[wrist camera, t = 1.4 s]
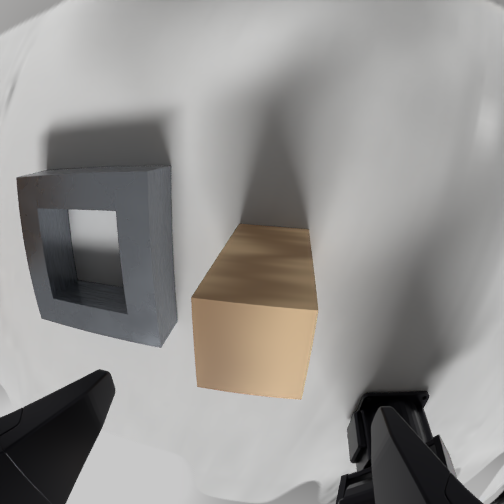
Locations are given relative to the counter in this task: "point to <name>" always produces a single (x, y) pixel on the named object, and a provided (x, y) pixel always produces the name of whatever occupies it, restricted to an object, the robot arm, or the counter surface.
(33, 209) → the block
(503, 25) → the counter surface
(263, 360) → the oak peg
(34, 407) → the robot arm
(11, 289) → the counter surface
